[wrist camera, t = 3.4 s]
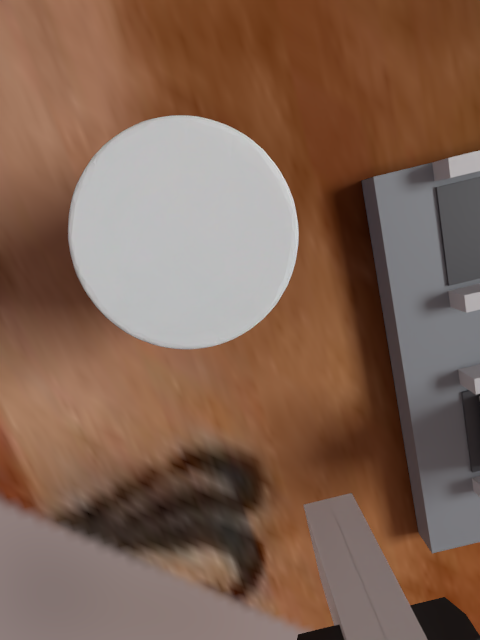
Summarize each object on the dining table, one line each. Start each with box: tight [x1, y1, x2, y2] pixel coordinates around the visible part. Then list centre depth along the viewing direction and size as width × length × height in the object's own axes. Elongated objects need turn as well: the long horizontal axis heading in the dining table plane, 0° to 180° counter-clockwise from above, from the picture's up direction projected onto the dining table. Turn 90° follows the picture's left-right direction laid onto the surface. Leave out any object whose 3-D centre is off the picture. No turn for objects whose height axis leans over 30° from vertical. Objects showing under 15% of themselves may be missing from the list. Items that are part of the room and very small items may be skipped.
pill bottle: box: [68, 115, 299, 349], centre depth 11 cm, size 5×5×8 cm
